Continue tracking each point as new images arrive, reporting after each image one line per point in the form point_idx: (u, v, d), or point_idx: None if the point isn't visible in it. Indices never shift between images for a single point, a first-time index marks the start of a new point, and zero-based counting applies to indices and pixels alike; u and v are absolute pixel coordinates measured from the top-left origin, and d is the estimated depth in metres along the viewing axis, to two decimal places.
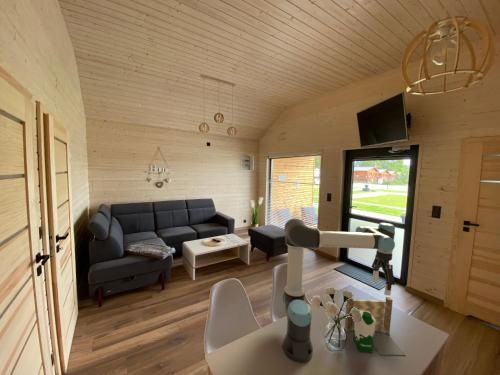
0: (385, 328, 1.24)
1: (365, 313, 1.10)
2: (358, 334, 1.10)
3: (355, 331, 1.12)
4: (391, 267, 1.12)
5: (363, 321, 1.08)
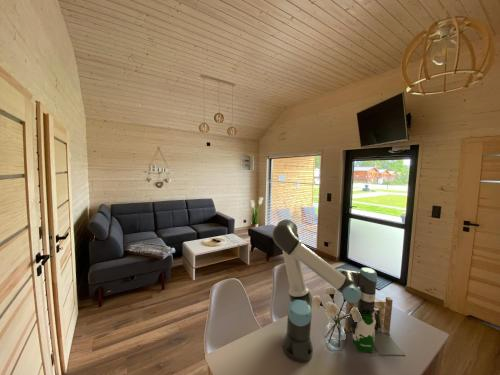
0: (385, 328, 1.24)
1: None
2: (358, 334, 1.10)
3: None
4: None
5: (363, 321, 1.08)
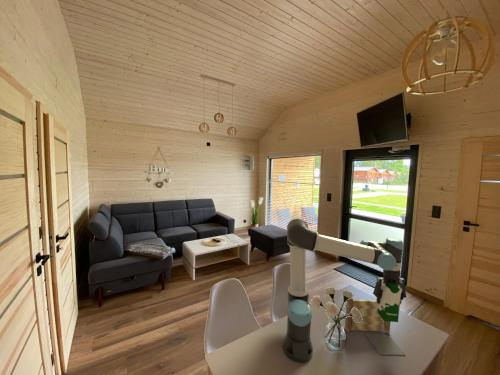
0: (385, 328, 1.24)
1: None
2: (383, 303, 1.10)
3: None
4: (378, 281, 1.11)
5: (389, 290, 1.08)
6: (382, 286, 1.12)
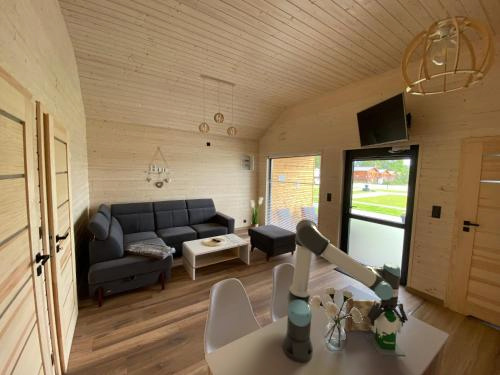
0: None
1: (387, 311, 1.11)
2: (380, 331, 1.12)
3: (377, 329, 1.14)
4: (376, 305, 1.13)
5: (386, 319, 1.09)
6: None
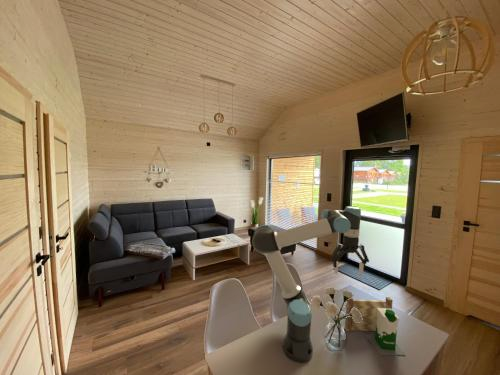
0: None
1: (388, 311, 1.12)
2: (381, 331, 1.12)
3: (378, 328, 1.14)
4: (337, 246, 1.15)
5: (386, 318, 1.10)
6: (380, 314, 1.13)
